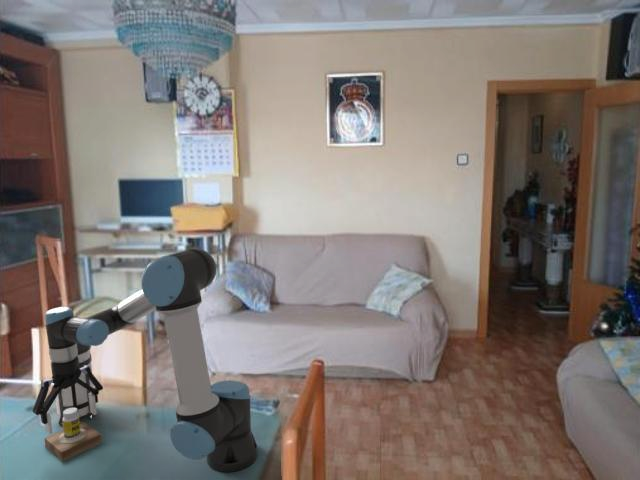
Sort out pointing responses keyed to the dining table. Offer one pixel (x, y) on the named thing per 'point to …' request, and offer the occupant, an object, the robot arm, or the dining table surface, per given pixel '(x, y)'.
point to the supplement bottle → (71, 423)
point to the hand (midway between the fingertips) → (72, 422)
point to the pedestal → (72, 442)
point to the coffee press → (77, 389)
